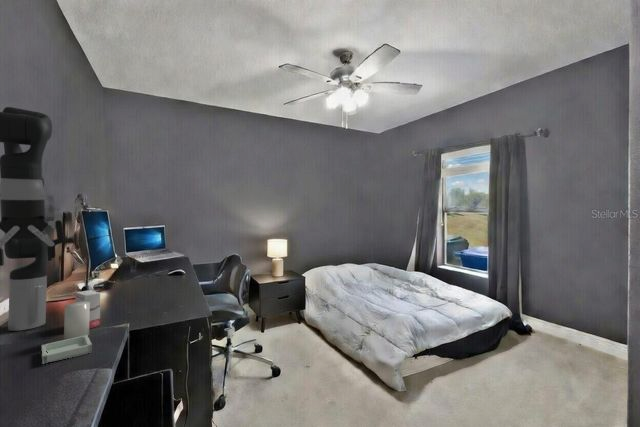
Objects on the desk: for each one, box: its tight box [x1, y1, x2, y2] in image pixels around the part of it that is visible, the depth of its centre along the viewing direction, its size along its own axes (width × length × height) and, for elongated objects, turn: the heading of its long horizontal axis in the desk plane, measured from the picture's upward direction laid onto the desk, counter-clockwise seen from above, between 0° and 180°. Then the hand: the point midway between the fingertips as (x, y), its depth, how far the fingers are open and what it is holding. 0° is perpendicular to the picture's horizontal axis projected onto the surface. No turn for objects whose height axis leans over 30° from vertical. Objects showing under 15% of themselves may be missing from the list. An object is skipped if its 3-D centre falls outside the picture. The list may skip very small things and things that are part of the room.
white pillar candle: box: [63, 301, 90, 340], centre depth 89 cm, size 6×6×11 cm
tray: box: [41, 335, 93, 365], centre depth 80 cm, size 10×10×2 cm
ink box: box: [75, 289, 101, 329], centre depth 101 cm, size 9×5×12 cm, turn 58°
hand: (26, 262), depth 71 cm, fingers open, 8 cm apart
